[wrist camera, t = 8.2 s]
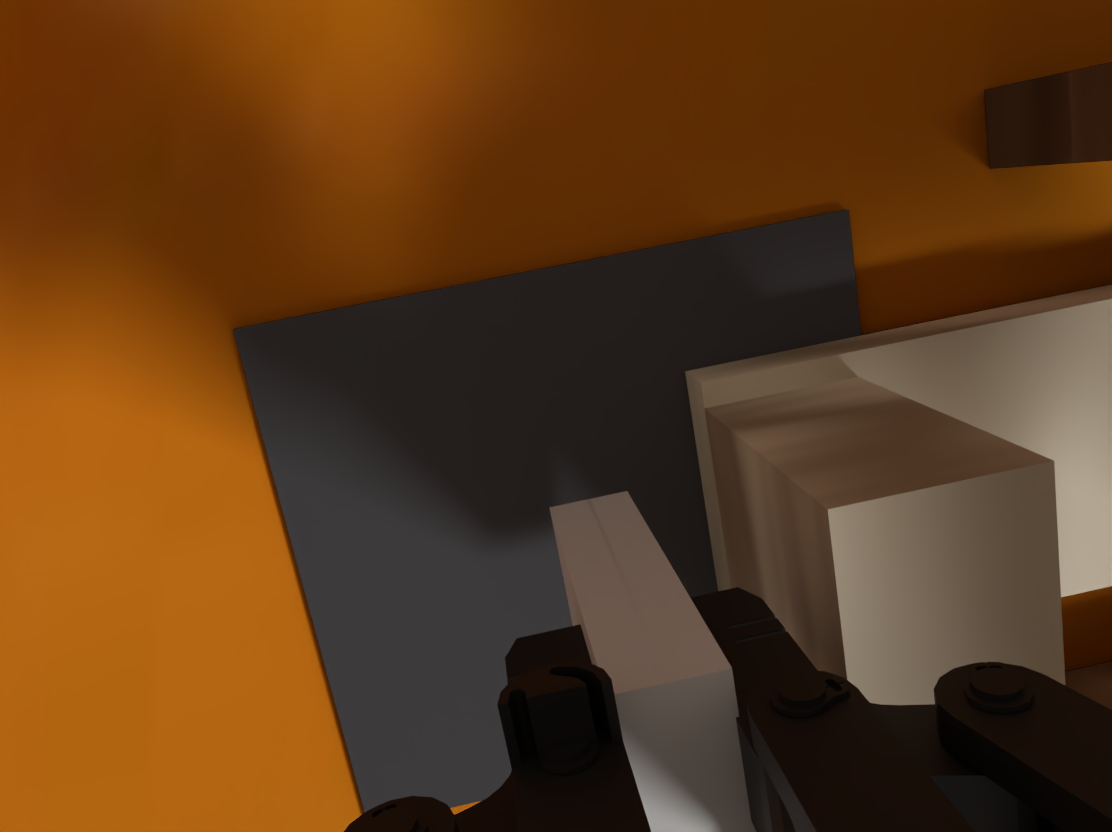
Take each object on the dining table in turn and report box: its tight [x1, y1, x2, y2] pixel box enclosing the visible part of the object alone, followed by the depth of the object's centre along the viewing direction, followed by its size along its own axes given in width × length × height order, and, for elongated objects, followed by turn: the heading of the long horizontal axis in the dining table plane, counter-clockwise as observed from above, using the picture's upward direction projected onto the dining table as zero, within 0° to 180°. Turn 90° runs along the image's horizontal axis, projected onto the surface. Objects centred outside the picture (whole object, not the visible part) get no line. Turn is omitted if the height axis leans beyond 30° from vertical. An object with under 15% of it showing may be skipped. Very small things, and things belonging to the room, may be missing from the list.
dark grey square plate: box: [233, 210, 861, 812], centre depth 19 cm, size 12×11×1 cm
